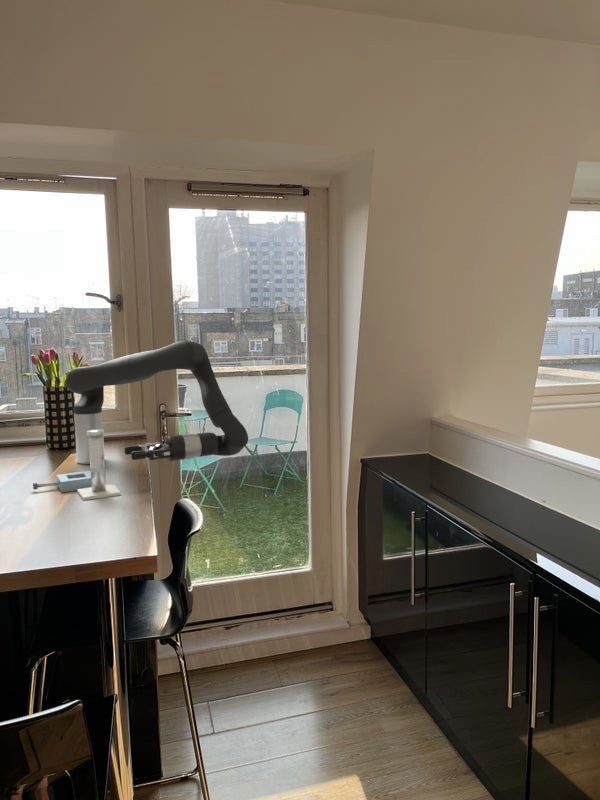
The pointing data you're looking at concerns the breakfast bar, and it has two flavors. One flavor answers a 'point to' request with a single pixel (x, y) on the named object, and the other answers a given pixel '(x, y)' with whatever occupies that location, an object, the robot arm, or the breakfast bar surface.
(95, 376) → the robot arm
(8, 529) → the breakfast bar surface
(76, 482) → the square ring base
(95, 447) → the steel pin
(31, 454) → the breakfast bar surface
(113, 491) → the felt pad
